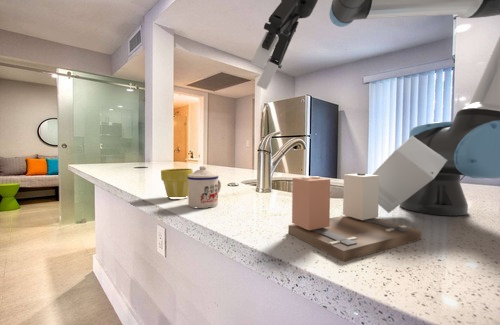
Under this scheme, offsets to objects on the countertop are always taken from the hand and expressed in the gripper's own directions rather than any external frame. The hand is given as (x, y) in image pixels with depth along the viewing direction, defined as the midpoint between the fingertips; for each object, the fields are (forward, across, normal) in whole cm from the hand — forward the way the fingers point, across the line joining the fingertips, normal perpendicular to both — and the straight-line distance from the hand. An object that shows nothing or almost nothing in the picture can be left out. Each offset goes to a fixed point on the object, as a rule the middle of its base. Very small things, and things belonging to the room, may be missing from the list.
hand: (259, 77), depth 56 cm
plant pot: (+41, -27, -12) cm, 50 cm away
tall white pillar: (+17, -2, +34) cm, 38 cm away
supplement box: (+10, -12, +39) cm, 42 cm away
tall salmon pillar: (+23, +6, +24) cm, 33 cm away
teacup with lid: (+36, -18, -1) cm, 40 cm away
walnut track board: (+21, +5, +32) cm, 38 cm away
